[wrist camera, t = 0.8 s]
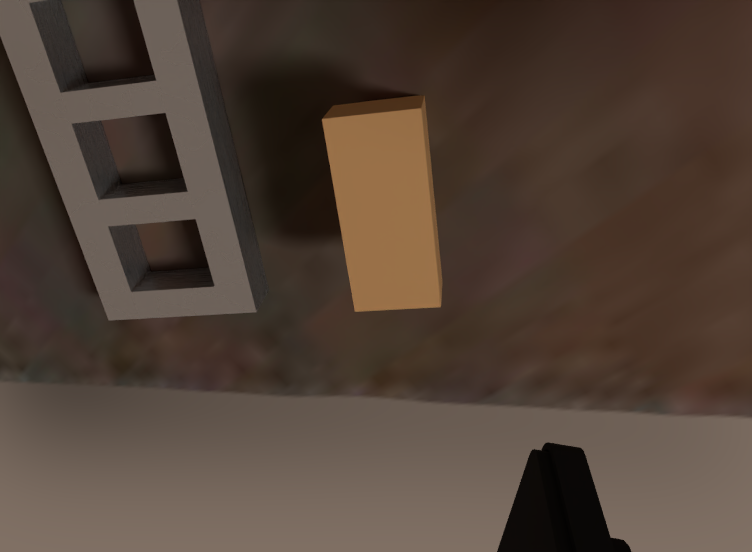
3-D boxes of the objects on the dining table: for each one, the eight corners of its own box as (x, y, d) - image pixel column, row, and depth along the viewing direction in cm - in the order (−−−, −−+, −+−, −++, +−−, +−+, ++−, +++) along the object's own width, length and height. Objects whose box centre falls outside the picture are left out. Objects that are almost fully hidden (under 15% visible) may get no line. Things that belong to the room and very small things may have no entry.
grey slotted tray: (148, -213, 26) (119, -228, 24) (268, 290, 36) (256, 312, 34) (-40, -173, 27) (-84, -184, 25) (129, 299, 38) (108, 320, 36)
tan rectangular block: (428, 78, 30) (421, 108, 24) (444, 247, 34) (440, 306, 28) (347, 87, 30) (321, 119, 25) (372, 252, 34) (354, 311, 29)
